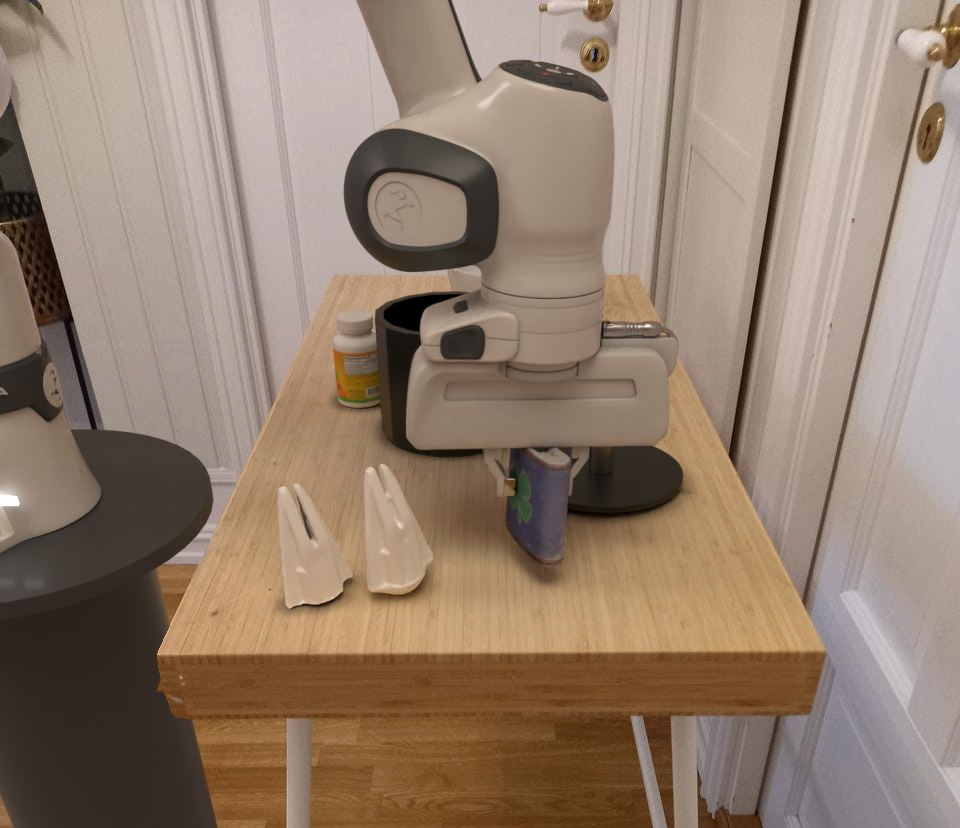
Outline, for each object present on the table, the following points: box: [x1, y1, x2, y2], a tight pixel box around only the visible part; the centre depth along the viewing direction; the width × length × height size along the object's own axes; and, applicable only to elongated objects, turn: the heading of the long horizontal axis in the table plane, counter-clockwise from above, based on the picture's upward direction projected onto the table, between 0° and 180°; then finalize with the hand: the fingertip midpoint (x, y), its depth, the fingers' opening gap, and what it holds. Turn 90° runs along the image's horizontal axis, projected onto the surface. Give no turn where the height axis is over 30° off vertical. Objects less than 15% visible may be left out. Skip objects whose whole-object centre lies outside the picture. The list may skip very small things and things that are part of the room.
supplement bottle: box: [332, 310, 381, 409], centre depth 109 cm, size 5×5×10 cm
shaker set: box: [276, 463, 434, 609], centre depth 75 cm, size 12×4×11 cm, turn 95°
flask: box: [504, 447, 572, 568], centre depth 77 cm, size 9×3×11 cm, turn 19°
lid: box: [557, 445, 684, 514], centre depth 93 cm, size 16×16×5 cm
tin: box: [374, 290, 483, 458], centre depth 102 cm, size 15×15×12 cm
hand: (532, 493), depth 78 cm, fingers closed on flask, 3 cm apart
